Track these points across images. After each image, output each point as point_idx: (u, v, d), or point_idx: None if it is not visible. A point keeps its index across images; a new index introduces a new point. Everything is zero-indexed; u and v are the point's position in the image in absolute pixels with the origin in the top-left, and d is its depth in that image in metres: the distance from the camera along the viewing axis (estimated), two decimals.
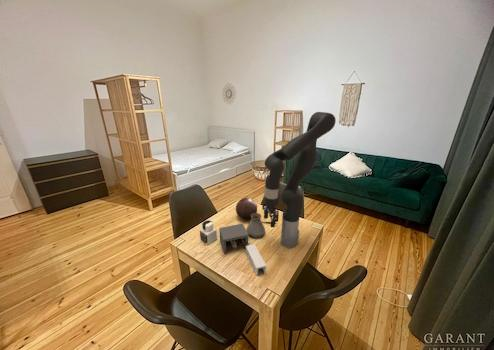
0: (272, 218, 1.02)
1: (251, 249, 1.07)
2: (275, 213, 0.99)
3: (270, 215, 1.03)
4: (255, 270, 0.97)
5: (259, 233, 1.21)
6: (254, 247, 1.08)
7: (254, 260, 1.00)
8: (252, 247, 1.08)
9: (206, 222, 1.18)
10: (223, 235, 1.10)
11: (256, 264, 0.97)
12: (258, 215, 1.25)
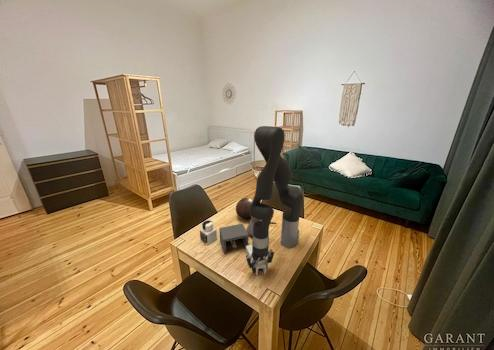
0: (267, 261, 0.98)
1: (251, 249, 1.07)
2: None
3: (266, 260, 0.97)
4: None
5: None
6: None
7: None
8: None
9: (206, 222, 1.18)
10: (223, 235, 1.10)
11: None
12: None
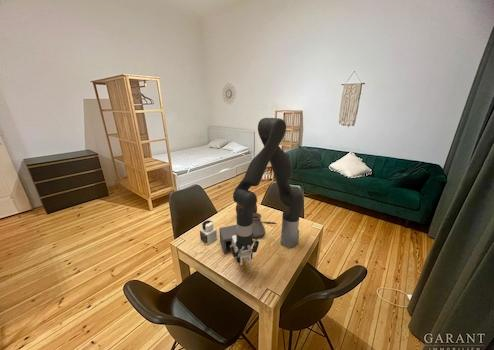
0: (252, 250, 0.95)
1: None
2: None
3: (251, 249, 0.94)
4: None
5: (259, 233, 1.21)
6: None
7: None
8: None
9: (206, 222, 1.18)
10: (223, 235, 1.10)
11: None
12: (258, 215, 1.25)
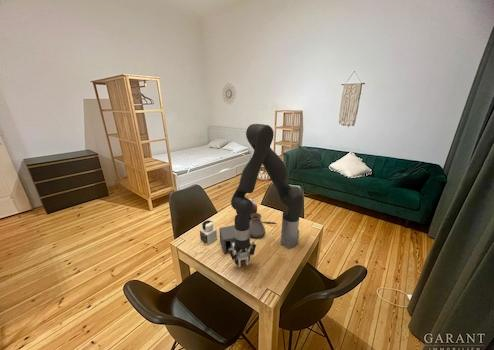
0: (249, 253, 1.01)
1: None
2: None
3: (249, 252, 1.00)
4: (238, 262, 1.00)
5: (259, 233, 1.21)
6: None
7: None
8: None
9: (206, 222, 1.18)
10: (223, 235, 1.10)
11: (239, 256, 1.00)
12: (258, 215, 1.25)
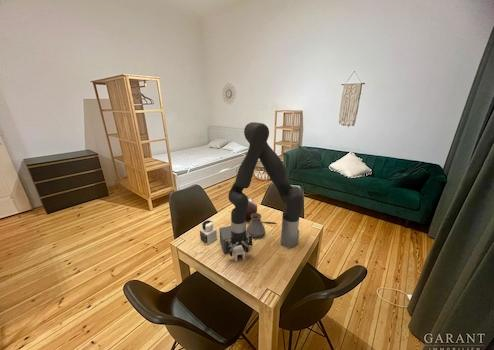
0: (247, 244, 1.06)
1: None
2: None
3: (246, 243, 1.04)
4: (235, 256, 1.06)
5: (259, 233, 1.21)
6: None
7: None
8: None
9: (206, 222, 1.18)
10: (223, 235, 1.10)
11: (235, 251, 1.06)
12: (258, 215, 1.25)
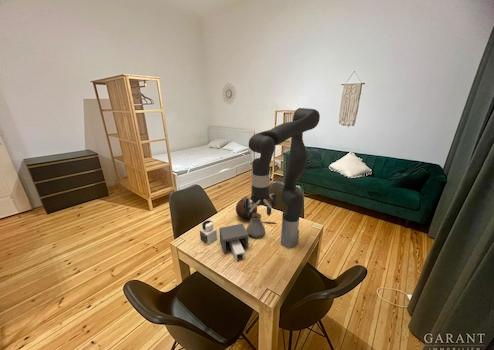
0: (270, 204, 0.89)
1: None
2: None
3: None
4: (235, 256, 1.06)
5: (259, 233, 1.21)
6: None
7: (234, 247, 1.08)
8: None
9: (206, 222, 1.18)
10: (223, 235, 1.10)
11: (235, 251, 1.06)
12: (258, 215, 1.25)
